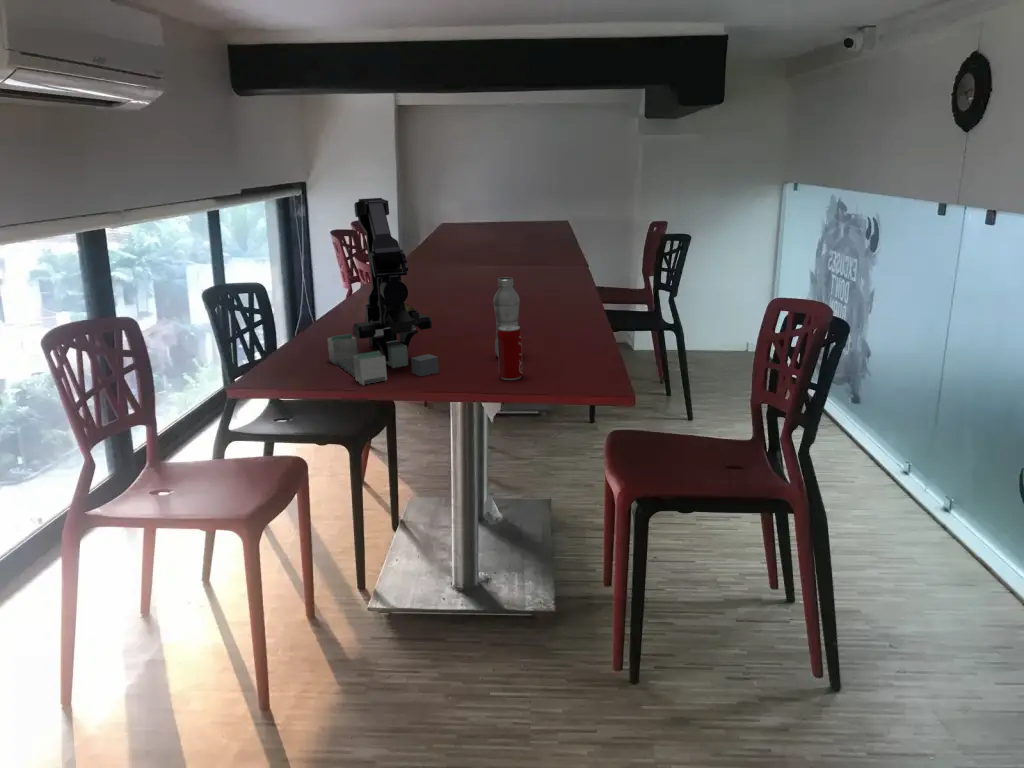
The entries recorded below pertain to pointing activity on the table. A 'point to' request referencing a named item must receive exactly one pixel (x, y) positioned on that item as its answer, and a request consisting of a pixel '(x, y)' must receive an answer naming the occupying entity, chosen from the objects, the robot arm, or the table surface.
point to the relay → (425, 365)
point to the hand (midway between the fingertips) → (395, 359)
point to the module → (397, 354)
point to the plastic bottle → (505, 305)
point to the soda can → (510, 352)
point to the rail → (357, 359)
